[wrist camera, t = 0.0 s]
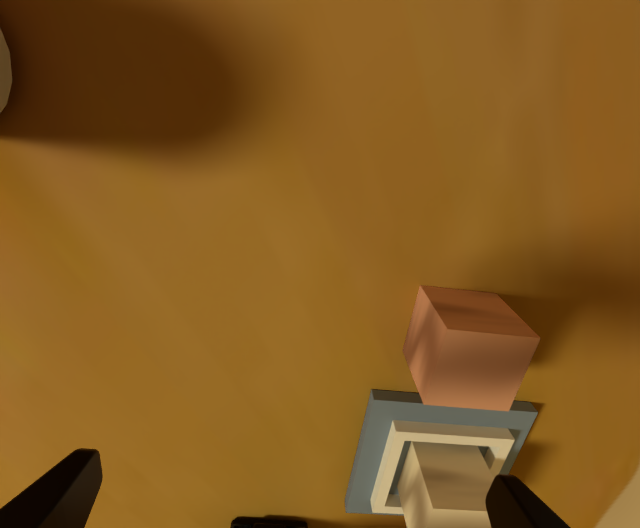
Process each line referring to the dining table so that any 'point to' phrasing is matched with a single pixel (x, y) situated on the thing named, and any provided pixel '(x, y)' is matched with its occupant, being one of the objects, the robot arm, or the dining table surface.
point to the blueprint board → (426, 426)
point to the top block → (467, 349)
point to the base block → (444, 486)
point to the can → (4, 72)
